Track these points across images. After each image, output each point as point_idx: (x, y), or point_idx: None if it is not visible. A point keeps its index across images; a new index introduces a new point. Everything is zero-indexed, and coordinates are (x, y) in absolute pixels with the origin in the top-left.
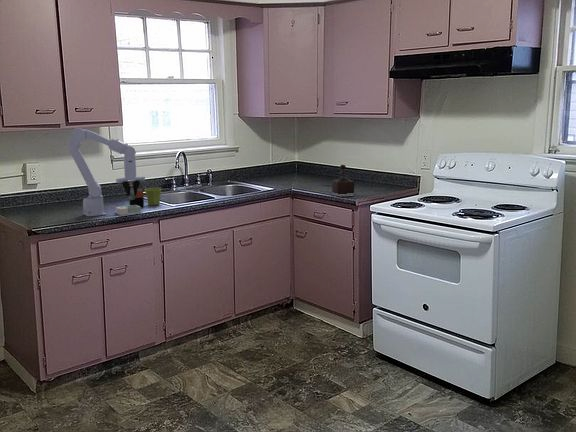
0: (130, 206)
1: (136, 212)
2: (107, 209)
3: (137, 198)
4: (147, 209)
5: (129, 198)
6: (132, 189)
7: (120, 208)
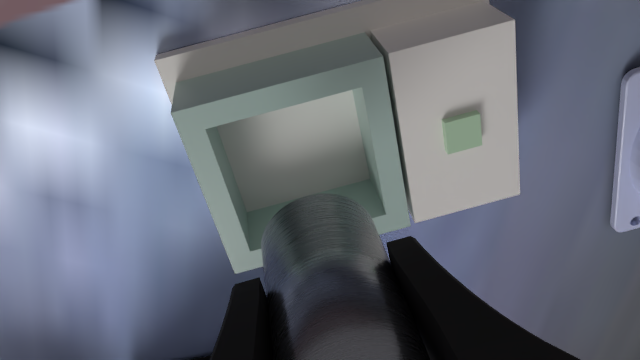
0: None
1: (245, 37)
2: None
3: None
4: (84, 264)
5: (371, 223)
6: (344, 354)
7: (492, 80)
